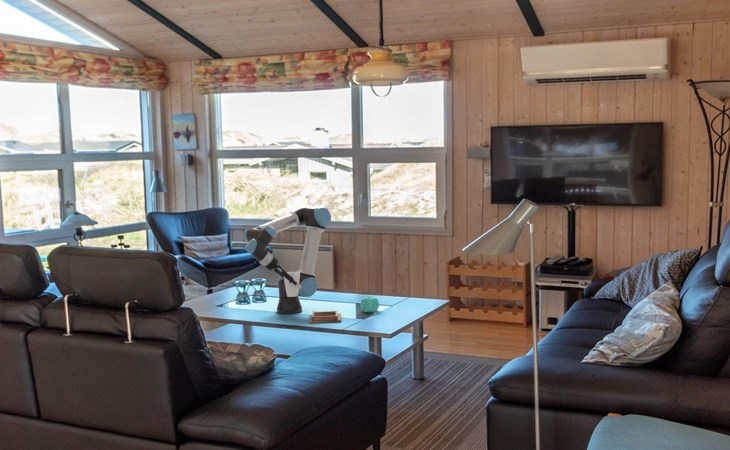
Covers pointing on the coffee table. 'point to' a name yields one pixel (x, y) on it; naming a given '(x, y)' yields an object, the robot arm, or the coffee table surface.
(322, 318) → the dock board
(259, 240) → the robot arm
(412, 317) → the coffee table surface
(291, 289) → the foam cup
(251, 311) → the coffee table surface
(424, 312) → the coffee table surface
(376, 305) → the green textured ball
